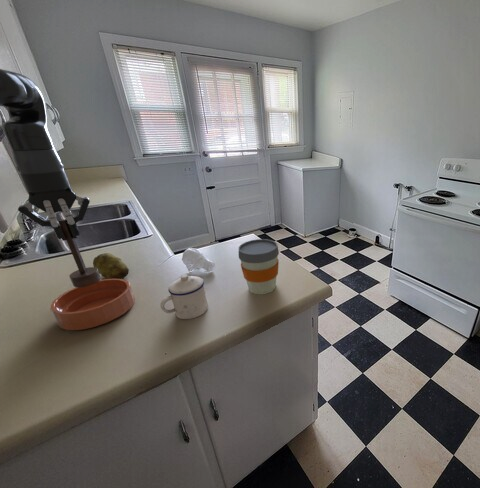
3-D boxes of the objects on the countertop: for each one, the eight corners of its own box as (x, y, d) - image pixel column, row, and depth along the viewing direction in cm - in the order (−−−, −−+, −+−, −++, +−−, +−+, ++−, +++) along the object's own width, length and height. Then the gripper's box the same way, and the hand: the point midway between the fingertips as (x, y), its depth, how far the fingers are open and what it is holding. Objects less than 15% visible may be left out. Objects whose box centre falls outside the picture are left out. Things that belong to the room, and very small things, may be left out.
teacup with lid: (200, 297, 85) (192, 265, 81) (214, 309, 80) (208, 275, 75) (159, 316, 77) (148, 281, 72) (172, 330, 71) (162, 293, 67)
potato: (104, 287, 91) (96, 266, 88) (95, 274, 99) (88, 254, 96) (132, 277, 97) (126, 257, 94) (122, 266, 105) (116, 247, 101)
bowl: (40, 331, 71) (30, 312, 69) (96, 293, 87) (90, 277, 85) (103, 333, 70) (96, 315, 68) (148, 295, 86) (143, 279, 84)
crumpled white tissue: (191, 244, 102) (218, 250, 100) (193, 263, 106) (220, 270, 103) (178, 250, 97) (206, 257, 94) (181, 271, 100) (209, 278, 98)
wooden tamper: (68, 289, 71) (40, 225, 64) (79, 278, 77) (54, 217, 70) (95, 285, 73) (70, 222, 66) (104, 274, 78) (82, 215, 71)
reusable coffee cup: (261, 274, 99) (257, 236, 93) (288, 283, 93) (286, 243, 87) (235, 290, 89) (228, 249, 83) (264, 301, 83) (259, 258, 77)
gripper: (79, 165, 70) (101, 228, 76) (1, 171, 61) (34, 241, 68) (80, 168, 64) (104, 236, 71) (-5, 174, 56) (31, 250, 63)
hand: (69, 238), depth 70 cm, fingers closed on wooden tamper, 1 cm apart
